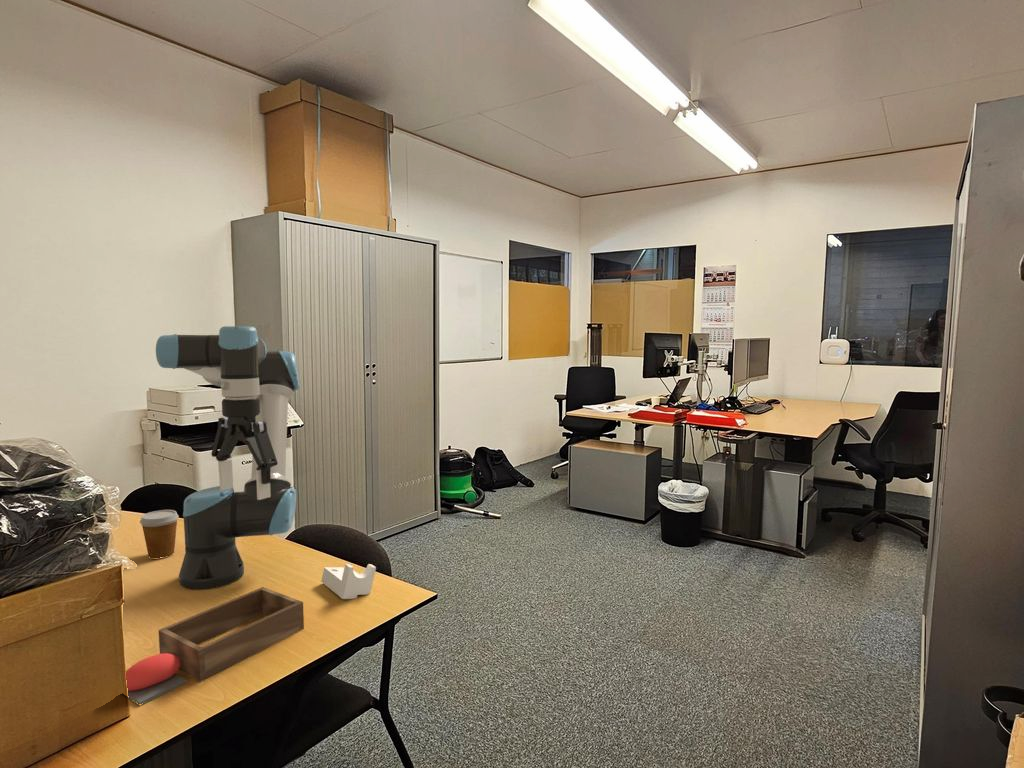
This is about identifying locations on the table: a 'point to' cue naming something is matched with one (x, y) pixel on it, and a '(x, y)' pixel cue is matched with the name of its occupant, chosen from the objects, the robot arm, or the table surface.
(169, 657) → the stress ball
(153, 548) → the disposable coffee cup
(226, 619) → the walnut box
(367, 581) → the bracket
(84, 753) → the table surface
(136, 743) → the table surface
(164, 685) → the slate mat
